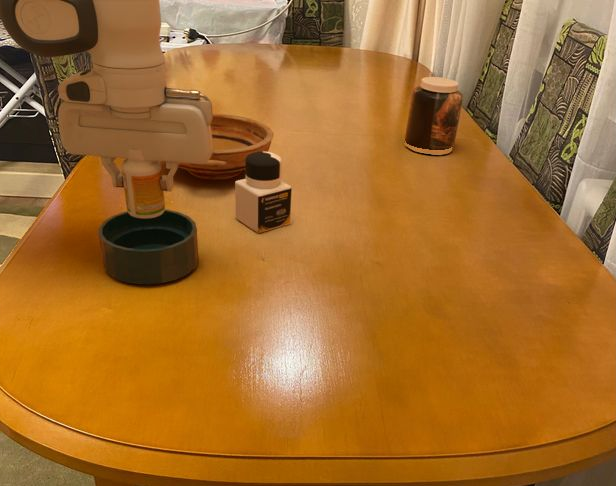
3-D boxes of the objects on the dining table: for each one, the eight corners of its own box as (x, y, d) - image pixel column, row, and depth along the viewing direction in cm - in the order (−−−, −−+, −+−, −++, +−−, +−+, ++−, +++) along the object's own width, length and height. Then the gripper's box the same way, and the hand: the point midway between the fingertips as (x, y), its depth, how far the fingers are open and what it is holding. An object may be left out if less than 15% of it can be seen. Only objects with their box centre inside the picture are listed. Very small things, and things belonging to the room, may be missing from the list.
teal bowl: (90, 283, 88) (83, 246, 85) (121, 239, 100) (116, 205, 96) (187, 291, 88) (184, 254, 84) (206, 246, 99) (204, 212, 96)
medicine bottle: (258, 234, 104) (258, 165, 97) (234, 219, 108) (233, 152, 101) (290, 224, 108) (293, 157, 100) (267, 210, 112) (268, 145, 105)
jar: (399, 151, 142) (409, 83, 133) (408, 136, 151) (418, 72, 142) (449, 159, 140) (462, 90, 131) (456, 144, 149) (469, 79, 140)
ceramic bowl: (169, 143, 138) (166, 106, 133) (275, 149, 139) (276, 113, 134) (141, 194, 114) (136, 152, 109) (269, 201, 115) (270, 159, 110)
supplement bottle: (173, 210, 89) (167, 144, 84) (147, 223, 86) (139, 155, 80) (145, 201, 91) (137, 136, 86) (119, 213, 88) (109, 146, 82)
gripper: (216, 85, 80) (219, 185, 89) (64, 73, 81) (81, 174, 89) (206, 97, 75) (211, 202, 84) (44, 85, 76) (65, 191, 84)
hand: (143, 187), depth 86 cm, fingers closed on supplement bottle, 5 cm apart
